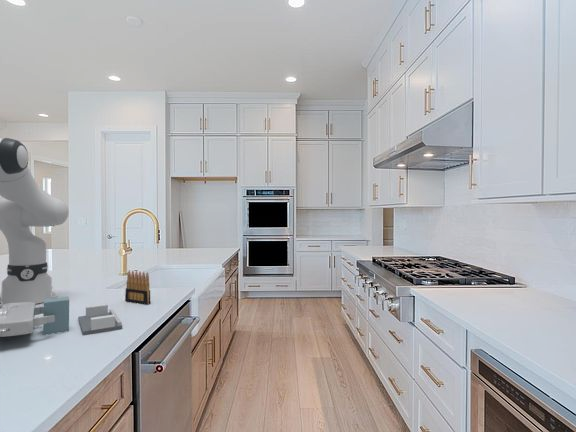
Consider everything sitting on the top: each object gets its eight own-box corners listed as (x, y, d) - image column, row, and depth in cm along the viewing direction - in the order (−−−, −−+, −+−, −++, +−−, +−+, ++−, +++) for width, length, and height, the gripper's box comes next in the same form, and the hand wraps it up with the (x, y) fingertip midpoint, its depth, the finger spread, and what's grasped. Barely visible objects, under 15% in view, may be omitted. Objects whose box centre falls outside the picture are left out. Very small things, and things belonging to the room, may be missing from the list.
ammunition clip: (150, 303, 129) (151, 271, 129) (146, 304, 127) (147, 272, 127) (128, 300, 132) (129, 269, 132) (124, 301, 131) (125, 270, 131)
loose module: (43, 330, 98) (43, 299, 98) (68, 326, 102) (68, 296, 102) (43, 335, 95) (43, 302, 95) (68, 331, 98) (69, 299, 98)
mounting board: (78, 319, 108) (78, 307, 108) (113, 314, 114) (113, 302, 114) (82, 335, 95) (83, 320, 95) (122, 328, 101) (122, 315, 101)
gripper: (-15, 320, 82) (55, 311, 90) (-5, 301, 98) (53, 295, 106) (-16, 346, 82) (54, 335, 90) (-5, 323, 98) (53, 315, 106)
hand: (54, 313), depth 98 cm, fingers open, 8 cm apart
